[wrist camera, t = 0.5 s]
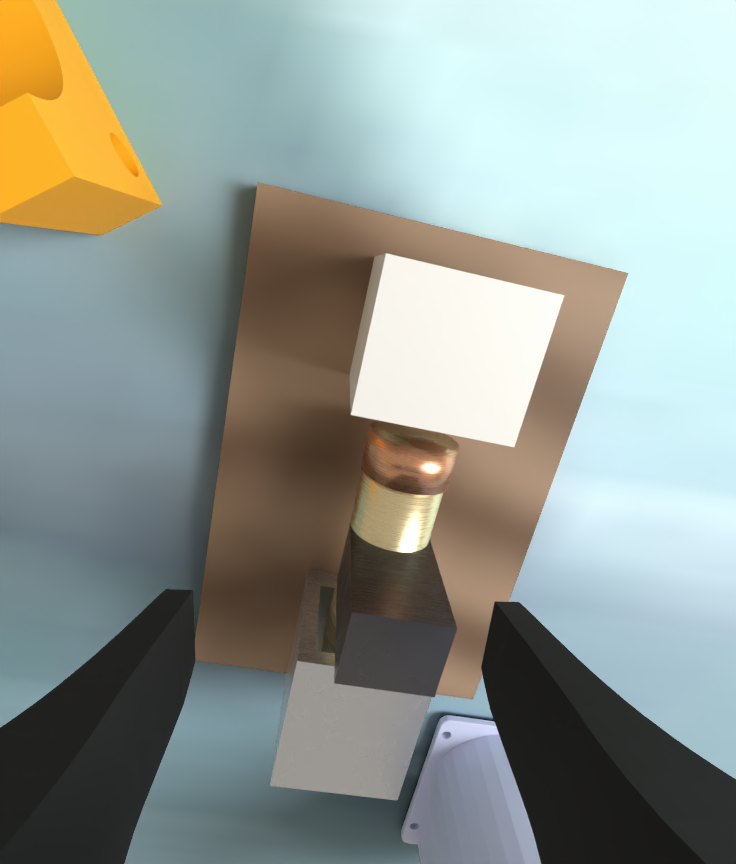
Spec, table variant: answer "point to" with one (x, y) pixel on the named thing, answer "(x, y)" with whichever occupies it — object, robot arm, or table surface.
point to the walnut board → (346, 434)
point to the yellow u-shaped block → (60, 131)
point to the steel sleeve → (339, 717)
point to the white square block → (449, 349)
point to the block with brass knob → (394, 567)
